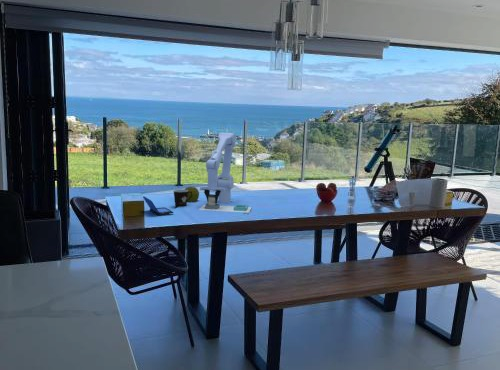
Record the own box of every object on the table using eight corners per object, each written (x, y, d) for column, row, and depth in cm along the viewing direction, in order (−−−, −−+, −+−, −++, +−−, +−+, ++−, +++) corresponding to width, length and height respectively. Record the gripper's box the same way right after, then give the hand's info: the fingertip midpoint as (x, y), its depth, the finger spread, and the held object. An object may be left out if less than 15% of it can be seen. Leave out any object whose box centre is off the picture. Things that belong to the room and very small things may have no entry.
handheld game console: (174, 215, 258) (174, 198, 256) (151, 217, 251) (150, 200, 250) (165, 209, 271) (164, 193, 270) (142, 211, 265) (142, 195, 263)
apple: (200, 201, 295) (200, 184, 293) (197, 204, 286) (197, 186, 284) (184, 200, 296) (184, 183, 294) (181, 203, 287) (181, 186, 285)
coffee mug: (174, 209, 272) (174, 192, 270) (172, 205, 280) (172, 189, 278) (194, 208, 275) (194, 191, 273) (192, 205, 283) (192, 189, 281)
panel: (204, 206, 281) (204, 201, 280) (251, 208, 277) (251, 204, 277) (198, 211, 267) (198, 206, 267) (248, 214, 264) (248, 209, 263)
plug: (209, 205, 275) (209, 194, 274) (216, 206, 275) (216, 194, 273) (208, 207, 271) (208, 195, 270) (214, 207, 271) (215, 195, 269)
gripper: (198, 180, 267) (198, 203, 269) (223, 181, 265) (223, 204, 268) (201, 178, 274) (201, 201, 276) (225, 179, 272) (225, 202, 275)
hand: (212, 202), depth 272 cm, fingers closed on plug, 4 cm apart
